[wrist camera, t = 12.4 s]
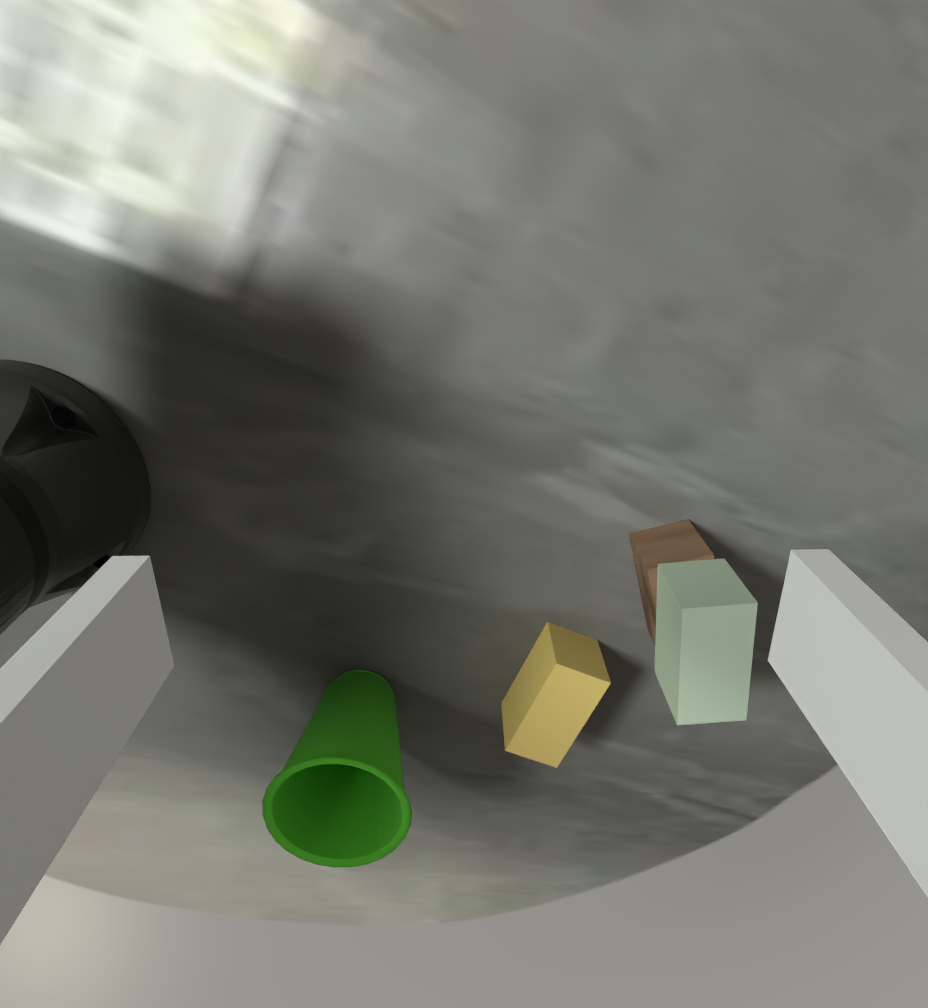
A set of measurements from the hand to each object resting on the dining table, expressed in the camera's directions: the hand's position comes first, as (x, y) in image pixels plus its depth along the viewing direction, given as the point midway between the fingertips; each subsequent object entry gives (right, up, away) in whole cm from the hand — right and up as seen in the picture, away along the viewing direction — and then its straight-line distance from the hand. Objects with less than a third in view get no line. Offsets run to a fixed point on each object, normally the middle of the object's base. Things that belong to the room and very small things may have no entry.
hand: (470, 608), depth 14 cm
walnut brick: (+14, -3, +33) cm, 36 cm away
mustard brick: (+6, -10, +36) cm, 38 cm away
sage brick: (+14, -5, +28) cm, 32 cm away
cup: (-8, -12, +37) cm, 40 cm away
